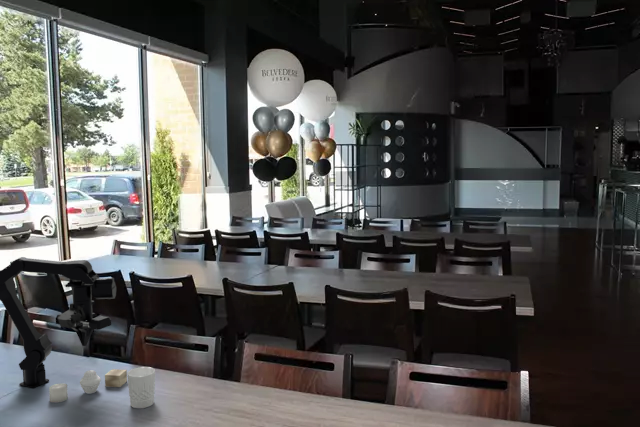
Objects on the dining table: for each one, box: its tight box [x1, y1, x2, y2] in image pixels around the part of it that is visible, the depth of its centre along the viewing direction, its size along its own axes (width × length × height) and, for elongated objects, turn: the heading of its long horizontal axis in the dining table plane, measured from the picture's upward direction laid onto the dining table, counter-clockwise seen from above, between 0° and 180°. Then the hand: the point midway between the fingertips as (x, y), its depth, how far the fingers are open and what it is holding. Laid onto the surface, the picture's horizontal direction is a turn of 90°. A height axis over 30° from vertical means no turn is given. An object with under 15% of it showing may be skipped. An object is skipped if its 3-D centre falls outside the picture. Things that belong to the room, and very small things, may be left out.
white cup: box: [127, 366, 156, 409], centre depth 170 cm, size 8×8×10 cm
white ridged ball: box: [79, 369, 102, 395], centre depth 179 cm, size 6×6×7 cm
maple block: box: [104, 368, 128, 388], centre depth 185 cm, size 5×5×4 cm
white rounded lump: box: [48, 382, 69, 404], centre depth 174 cm, size 5×5×4 cm
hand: (84, 345), depth 187 cm, fingers closed
